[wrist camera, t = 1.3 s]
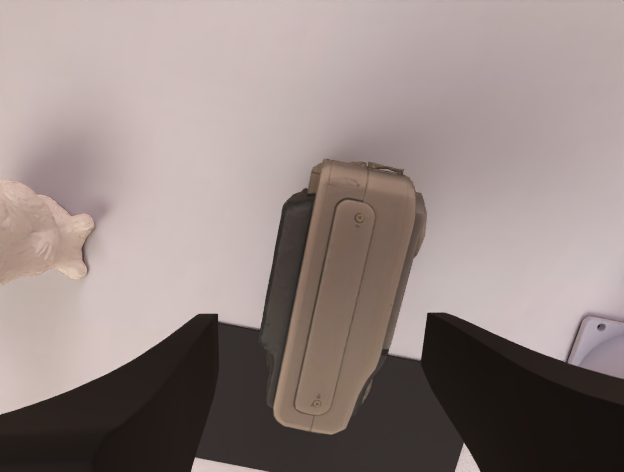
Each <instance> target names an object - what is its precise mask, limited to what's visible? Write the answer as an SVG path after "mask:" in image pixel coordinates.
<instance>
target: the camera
mask: <svg viewBox="0 0 624 472" xmlns="http://www.w3.org/2000/svg"><path fill="white" fill-rule="evenodd" d="M373 168H374V169H373ZM379 169H389V170H392V171H394V172H397V173H393V172H388V171H382V170H379ZM403 172H404V169H396V168H392V167H388V166H384V165H380V164H376V163H370V162H369V163H368V167H367V165H366V163H364V162H350V163H344V162H339V161H334V160H329V159H324V160H323V162H322V163H320V164H318V165H317V166H315V167H313V169H312V172H311V177H310V182H309V187H308V189H304V190H302V192H299V193H296V194H294V195H292V196H291V197H290V198H289V199H288V200H287V201H286V202H285V203H284V205H283V209H282V214H281V220H280V225H279V230H278V235H277V240H276V245H275V251H274V258H273V264H272V269H271V274H270V279H269V284H268V289H267V294H266V300H265V306H264V312H263V318H262V323H261V328H260V334H259V344H260V346H262V347H264V350H266V351H267V356H266V362H267V367H268V372H269V373H270V374H269V377H268V380H267V396H266V398H265V400H266V404H267V406H268V407H270V408H272V409H273V416H274V418H275V420H276V421H277V422H278V423H280V424H281V425H283V426H285V427H290V428H296V429H299V430H304V431H308V432H312V433H318V434H322V433H324V434H330V435H332V434H335V433H337V432H340V431H342V430H344V429H346V427H347V424H348V422H349V420H350V417H351V416H354V415H356V413H357V411H358V408H359V407H360V406H361V405H362V404H363V402H364V400H365V399H366V397H367V395H368V393H369V391H370V388H371V384H372V379H373V377H374V376H375V374H376V373H377V372H378V371H379V369H380V368H381V367H382V365H383V363H384V362H385V360H386V357H387V354H388V351H389V348H390V345H391V341H392V338H393V334H394V330H395V327H396V323H397V319H398V315H399V311H400V307H401V303H402V300H403V296H404V292H405V288H406V285H407V281H408V277H409V273H410V269H411V266H412V262H413V259H414V258H415V256H416V255H417V253H418V251H419V249H420V247H421V244H422V242H423V239H424V237H425V229H426V220H427V213H426V209H425V205H424V199H423V196H422V194H421V193H418V192H415V188H414V185H413V182H412V181H411V179H410V178H409V177H407V176H405V175H403Z"/></svg>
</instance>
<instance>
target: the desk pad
mask: <svg viewBox="0 0 624 472" xmlns="http://www.w3.org/2000/svg"><path fill="white" fill-rule="evenodd" d="M259 334H260V331H259V330H254V329H249V328H243V327H238V326H233V325H228V324H223V323H218V343H219V372H218V378H217V384H216V389H215V394H214V398H213V402H212V405H211V408H210V411H209V415H208V418H207V421H206V424H205V427H204V430H203V434H202V437H201V440H200V443H199V446H198V449H197V452H196V456H195V457H196V458H202V459H207V460H212V461H217V462H222V463H227V464H232V465H238V466H243V467H248V468H253V469H258V470H263V471H268V472H455V469H456V466H457V462H458V459H459V456H460V453H461V450H462V446H463V443H464V441H463V440H462V438H461V437H460V435H459V433H458V432H457V430H456V429H455V427H454V425H453V424H452V422H451V421H450V419H449V417H448V416H447V414H446V413H445V411H444V409H443V408H442V406H441V404H440V403H439V401H438V399H437V398H436V396H435V395H434V393H433V391H432V389H431V387H430V385H429V383H428V381H427V379H426V376H425V374H424V371H423V369H422V367H421V361H416V360H410V359H405V358H400V357H395V356H390V355H387V357H386V360H385V362H384V363H383V365H382V367H381V368H380V369H379V371H378V372H377V373H376V374H375V376H374V377H373V379H372V384H371V388H370V391H369V393H368V395H367V397H366V399H365V400H364V402H363V404H362V405H361V406H360V407H359V408H358V411H357V413H356V415H354V416H351V417H350V420H349V422H348V424H347V427H346V429H344V430H342V431H340V432H337V433H335V434H332V435H330V434H324V433H322V434H318V433H312V432H308V431H304V430H299V429H296V428H290V427H285V426H283V425H281V424H280V423H278V422H277V421H276V420H275V418H274V416H273V409H272V408H270V407H268V406H267V404H266V400H265V398H266V396H267V380H268V377H269V374H270V373H269V372H268V367H267V362H266V356H267V351H266V350H264V347H262V346H260V344H259Z"/></svg>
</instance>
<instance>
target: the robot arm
mask: <svg viewBox="0 0 624 472" xmlns="http://www.w3.org/2000/svg"><path fill="white" fill-rule="evenodd" d="M599 324H601V326H600V327H599V328H597V326H598V325H599ZM421 367H422V369H423V371H424V374H425V376H426V379H427V381H428V383H429V385H430V387H431V389H432V391H433V393H434V395H435V396H436V398H437V399H438V401H439V403H440V404H441V406H442V408H443V409H444V411H445V413H446V414H447V416H448V417H449V419H450V421H451V422H452V424H453V425H454V427H455V429H456V430H457V432H458V433H459V435H460V437H461V438H462V440H463V441H464V443H465V445H466V446H467V448H468V449H469V451H470V453H471V455H472V456H473V458H474V460H475V462H476V463H477V465H478V467H479V469H480V471H481V472H624V322H618V321H613V320H608V319H602V318H597V317H586V318H585V319H584V320H583V322H582V324H581V327H580V329H579V332H578V335H577V338H576V340H575V343H574V346H573V349H572V351H571V354H570V357H569V360H568V363H566V362H563V361H560V360H557V359H555V358H552V357H549V356H546V355H543V354H541V353H538V352H535V351H533V350H530V349H528V348H526V347H523V346H521V345H518V344H516V343H514V342H511V341H509V340H507V339H504V338H502V337H500V336H498V335H496V334H493V333H491V332H489V331H487V330H485V329H483V328H480V327H478V326H476V325H474V324H472V323H470V322H467V321H465V320H463V319H460V318H458V317H456V316H453V315H450V314H447V313H427V321H426V328H425V335H424V343H423V350H422V357H421ZM218 372H219V343H218V314H198V315H196V316H195V317H194V318H192V319H191V320H190V321H188V322H187V323H186V324H184V325H183V326H182V327H180V328H179V329H178V330H176V331H175V332H174V333H172V334H171V335H170V336H168V337H167V338H166V339H164V340H163V341H161V342H160V343H158V344H157V345H155V346H154V347H152V348H151V349H149V350H148V351H146V352H145V353H143V354H142V355H140V356H139V357H137V358H136V359H134V360H132V361H130V362H129V363H127V364H125V365H123V366H121V367H120V368H118V369H116V370H114V371H112V372H110V373H108V374H106V375H104V376H102V377H100V378H97V379H95V380H93V381H91V382H89V383H86V384H84V385H82V386H80V387H77V388H75V389H73V390H70V391H68V392H65V393H63V394H60V395H58V396H55V397H52V398H50V399H47V400H44V401H41V402H38V403H36V404H33V405H30V406H27V407H24V408H21V409H18V410H15V411H11V412H8V413H4V414H1V415H0V472H191V469H192V465H193V462H194V459H195V456H196V452H197V449H198V446H199V443H200V440H201V437H202V434H203V430H204V427H205V424H206V421H207V418H208V415H209V411H210V408H211V405H212V402H213V398H214V394H215V389H216V384H217V378H218Z"/></svg>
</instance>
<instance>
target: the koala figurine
mask: <svg viewBox="0 0 624 472" xmlns="http://www.w3.org/2000/svg"><path fill="white" fill-rule="evenodd" d="M94 228H95V226H94V221H93V219H92V218H91V216H89V215H87V214H79V215H74V216H71V215H70V214H69V213H68V212H67V211H66V210H64V208H62V207H61V206H59V204H57V202H56V201H54V200H53V199H51V198H49V197H47V196H45V195H36V194H35V193H34V191H32V189H30V188H29V187H27V186H26V185H24V184H21V183H18V182H15V181H8V180H5V179H0V284H4V283H6V282H9V281H11V280H13V279H15V278H18V277H25V276H31V275H39V274H41V273H42V272H44V271H46V270H47V269H50V268H52V267H54V268H57V269H58V270H59V271H60V272H62V273H64V274H66V275H67V276H68V277H70V278H72V279H78V278H82V277H84V276H85V275H86V273H87V267H86V265H85V264H84V263H83V261H82V250H81V248H82V246H83V244H84V242H85V240H86V238H87V236H88V235H89V234H90V232H91V231H92V229H94Z"/></svg>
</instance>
